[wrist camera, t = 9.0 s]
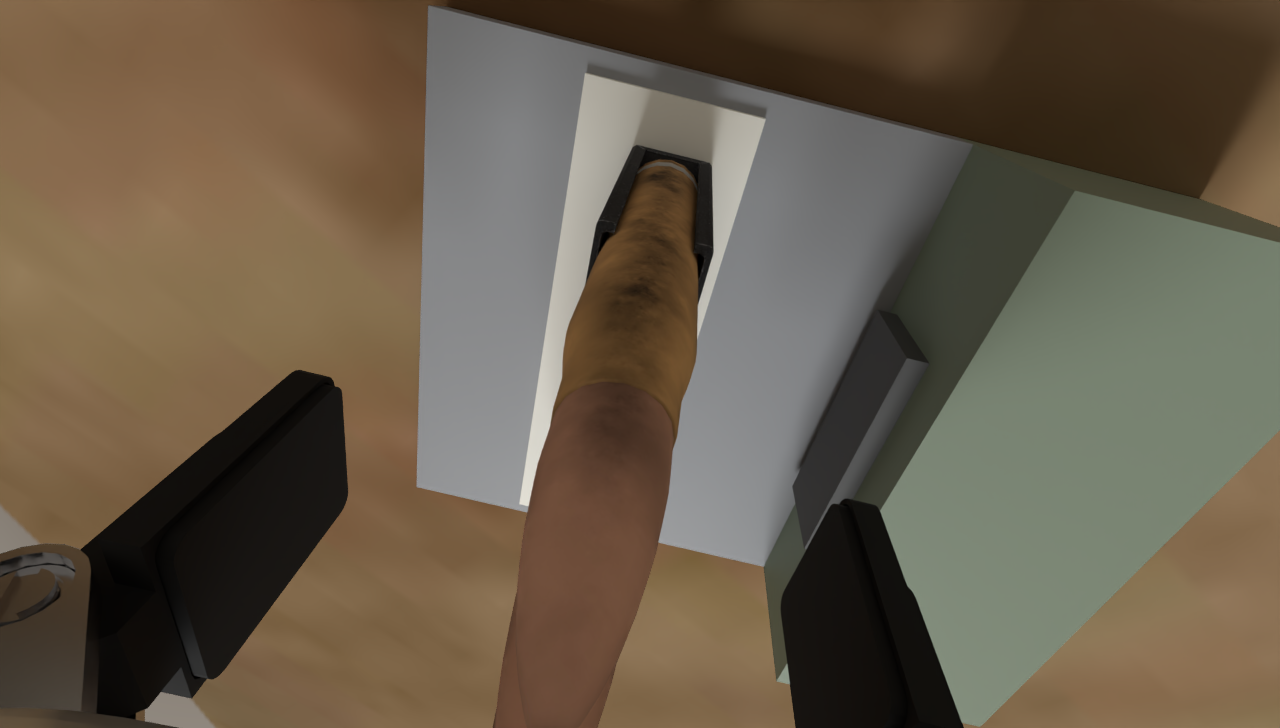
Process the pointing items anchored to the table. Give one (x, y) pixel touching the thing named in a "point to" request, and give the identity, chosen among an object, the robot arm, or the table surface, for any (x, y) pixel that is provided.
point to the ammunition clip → (609, 444)
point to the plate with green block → (851, 335)
